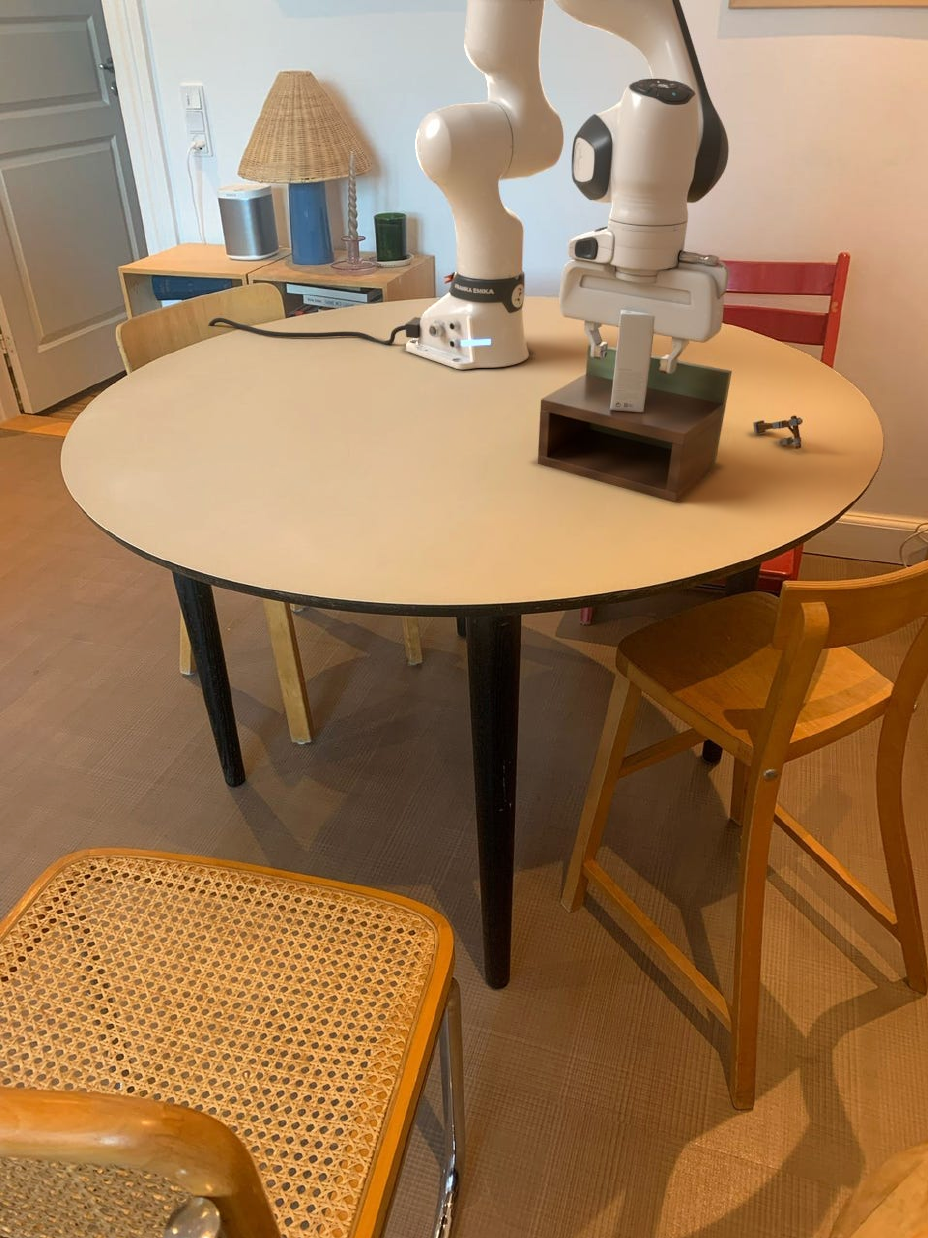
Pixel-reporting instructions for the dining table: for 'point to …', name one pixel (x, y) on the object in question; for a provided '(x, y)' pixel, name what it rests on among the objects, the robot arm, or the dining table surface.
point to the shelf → (637, 427)
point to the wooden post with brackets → (794, 421)
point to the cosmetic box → (632, 361)
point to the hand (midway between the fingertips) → (632, 364)
